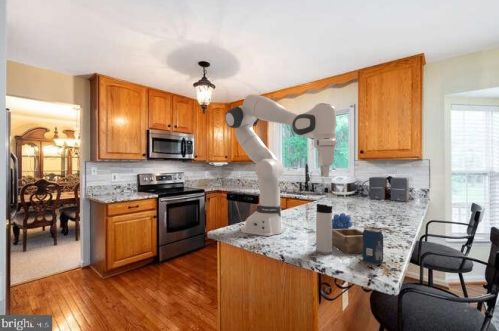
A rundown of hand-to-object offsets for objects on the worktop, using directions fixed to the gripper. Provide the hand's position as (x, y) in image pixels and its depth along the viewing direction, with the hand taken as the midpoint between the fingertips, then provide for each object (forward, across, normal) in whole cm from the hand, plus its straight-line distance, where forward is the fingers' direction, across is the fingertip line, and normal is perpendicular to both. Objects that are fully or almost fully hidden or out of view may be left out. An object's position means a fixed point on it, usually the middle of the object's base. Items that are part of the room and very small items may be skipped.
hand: (324, 176), depth 96 cm
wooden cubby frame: (+31, -8, +12) cm, 34 cm away
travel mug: (+31, 0, 0) cm, 31 cm away
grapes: (+31, -26, +11) cm, 42 cm away
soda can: (+31, +6, +17) cm, 36 cm away
